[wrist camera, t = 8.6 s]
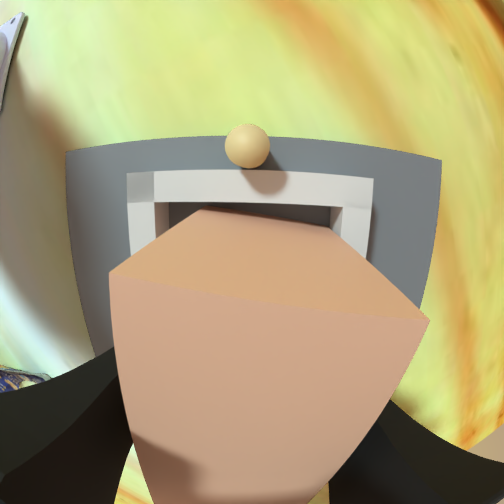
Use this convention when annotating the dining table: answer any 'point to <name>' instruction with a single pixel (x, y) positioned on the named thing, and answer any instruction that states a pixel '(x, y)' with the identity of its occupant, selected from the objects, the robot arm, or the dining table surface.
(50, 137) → the dining table surface
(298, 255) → the block
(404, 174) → the socket plate
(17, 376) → the snack package
